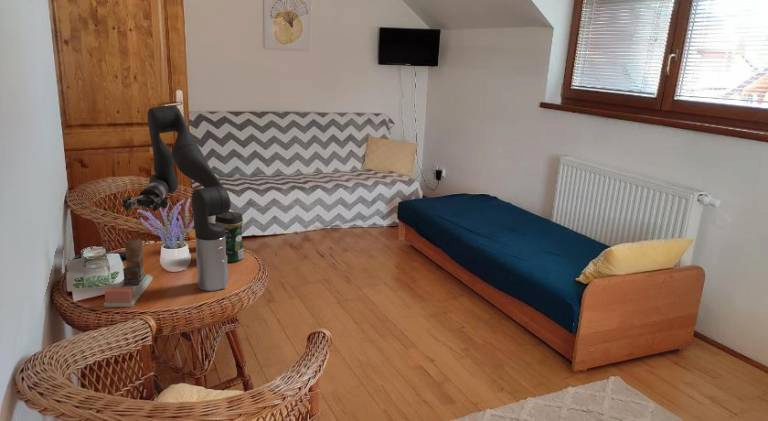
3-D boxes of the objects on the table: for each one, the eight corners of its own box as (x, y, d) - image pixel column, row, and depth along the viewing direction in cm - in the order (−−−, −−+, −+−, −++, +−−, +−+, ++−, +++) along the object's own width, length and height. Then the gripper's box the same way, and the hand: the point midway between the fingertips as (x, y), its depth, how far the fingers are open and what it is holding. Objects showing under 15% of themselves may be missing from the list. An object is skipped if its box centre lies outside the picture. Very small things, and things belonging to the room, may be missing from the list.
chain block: (145, 276, 183) (142, 238, 179) (139, 284, 176) (135, 246, 172) (131, 276, 182) (128, 238, 179) (124, 285, 175) (121, 245, 172)
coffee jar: (212, 260, 204) (210, 211, 199) (226, 253, 211) (224, 207, 206) (234, 264, 201) (232, 215, 196) (247, 258, 208) (246, 210, 203)
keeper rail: (152, 279, 184) (151, 265, 183) (132, 306, 164) (131, 291, 163) (127, 279, 183) (126, 265, 182) (104, 306, 163) (102, 291, 162)
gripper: (131, 184, 198) (117, 197, 182) (172, 185, 200) (162, 198, 185) (132, 204, 200) (118, 218, 185) (173, 205, 202) (163, 219, 187)
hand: (140, 208), depth 185 cm, fingers open, 8 cm apart
